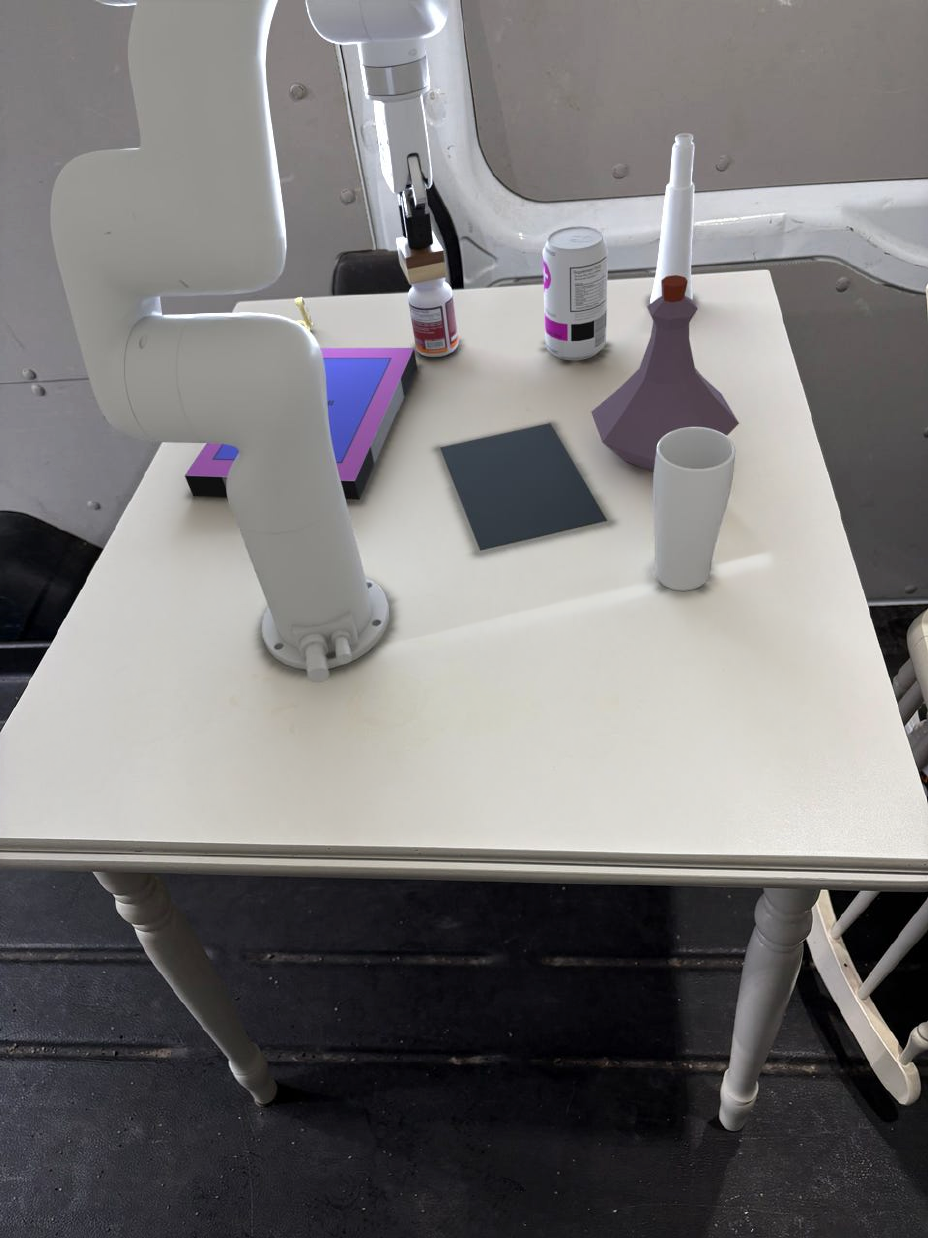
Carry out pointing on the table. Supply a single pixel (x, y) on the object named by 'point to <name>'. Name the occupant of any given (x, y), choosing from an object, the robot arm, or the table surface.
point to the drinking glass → (689, 503)
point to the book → (336, 417)
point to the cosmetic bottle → (677, 218)
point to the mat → (519, 486)
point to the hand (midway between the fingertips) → (418, 239)
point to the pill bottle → (433, 318)
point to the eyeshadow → (304, 313)
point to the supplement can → (575, 292)
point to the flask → (662, 387)
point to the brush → (421, 258)
